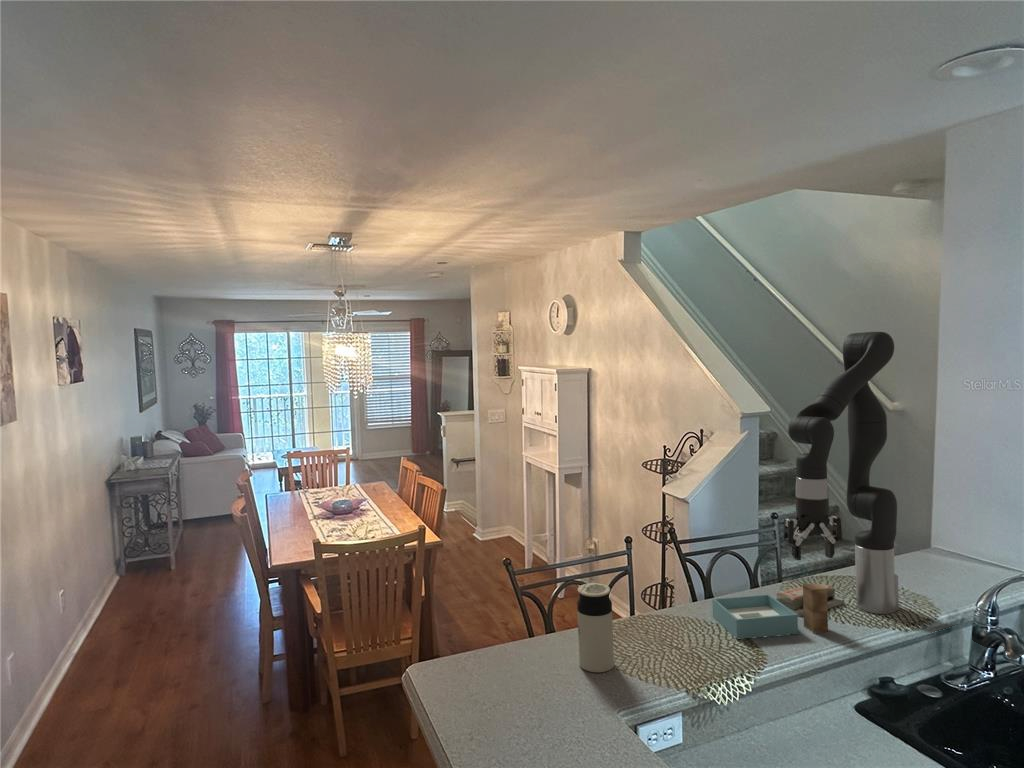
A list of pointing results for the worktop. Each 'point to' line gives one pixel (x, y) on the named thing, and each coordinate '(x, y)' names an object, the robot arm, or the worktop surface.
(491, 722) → the worktop surface
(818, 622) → the brown wooden block
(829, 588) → the packaged product
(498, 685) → the worktop surface
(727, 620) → the walled box
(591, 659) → the travel mug
